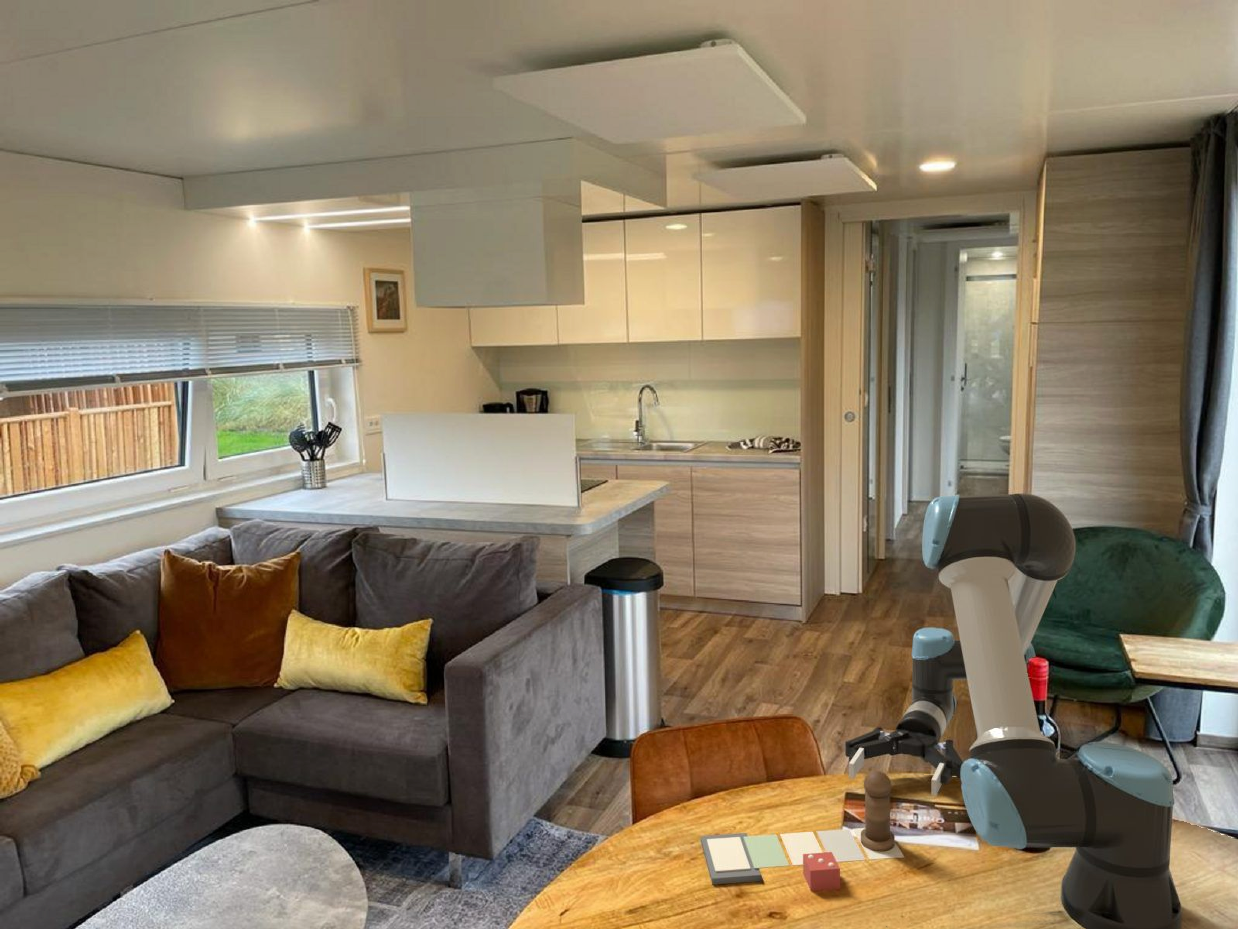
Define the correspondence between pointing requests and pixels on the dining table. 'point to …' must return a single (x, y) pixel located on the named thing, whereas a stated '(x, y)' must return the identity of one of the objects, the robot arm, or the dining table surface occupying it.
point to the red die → (821, 871)
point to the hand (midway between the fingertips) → (891, 779)
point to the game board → (778, 852)
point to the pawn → (877, 813)
